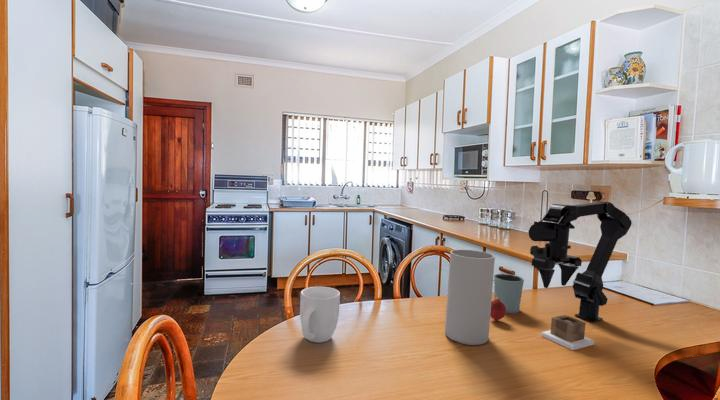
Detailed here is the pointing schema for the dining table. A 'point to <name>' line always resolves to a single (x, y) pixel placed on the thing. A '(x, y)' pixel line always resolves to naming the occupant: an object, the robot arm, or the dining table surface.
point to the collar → (568, 328)
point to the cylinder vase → (469, 296)
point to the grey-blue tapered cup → (508, 291)
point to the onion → (497, 309)
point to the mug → (319, 313)
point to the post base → (570, 345)
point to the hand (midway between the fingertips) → (554, 286)
